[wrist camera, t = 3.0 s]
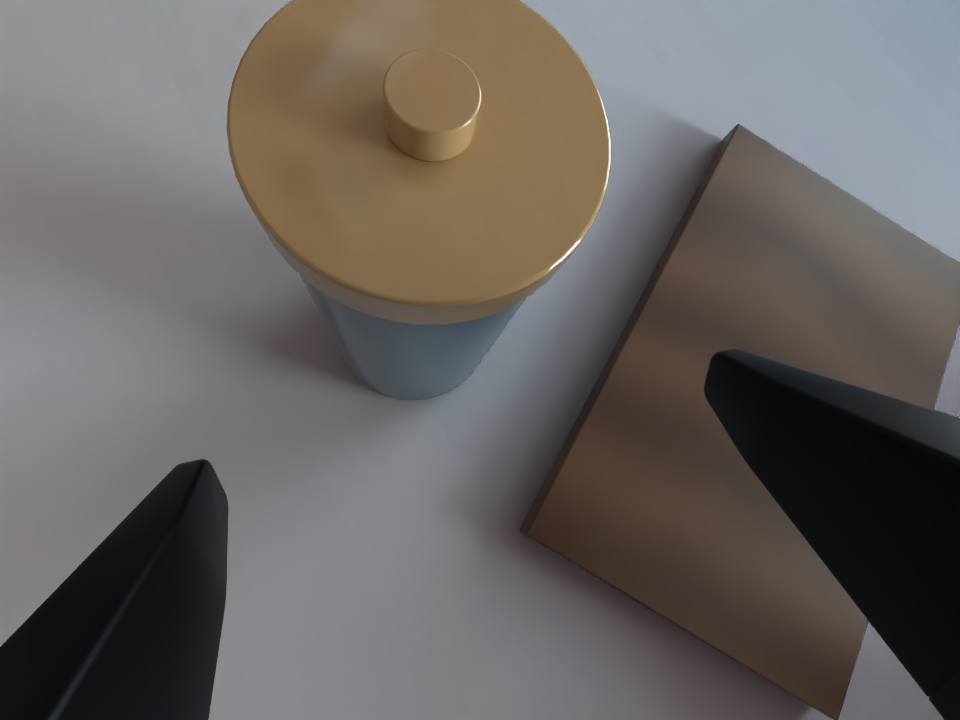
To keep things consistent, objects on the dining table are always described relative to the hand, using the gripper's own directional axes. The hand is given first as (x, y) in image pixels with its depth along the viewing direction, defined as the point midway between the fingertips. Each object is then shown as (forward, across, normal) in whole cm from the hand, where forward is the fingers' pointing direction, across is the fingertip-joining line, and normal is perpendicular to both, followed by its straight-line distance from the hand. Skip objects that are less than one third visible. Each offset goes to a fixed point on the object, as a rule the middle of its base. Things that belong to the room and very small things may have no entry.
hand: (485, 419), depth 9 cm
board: (+8, -15, +9) cm, 19 cm away
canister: (+12, 0, +5) cm, 13 cm away
